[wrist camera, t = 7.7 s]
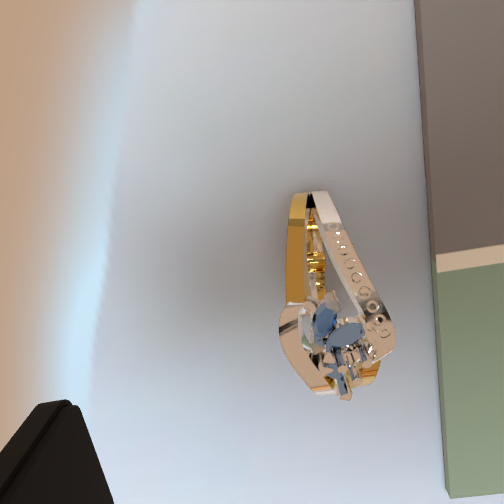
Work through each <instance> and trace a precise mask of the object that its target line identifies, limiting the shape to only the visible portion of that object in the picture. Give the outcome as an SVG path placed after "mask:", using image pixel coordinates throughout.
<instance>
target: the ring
mask: <svg viewBox="0 0 504 504" xmlns="http://www.w3.org/2000/svg"><path fill="white" fill-rule="evenodd" d="M322 240H323V243H324V245H325V248H326V250H327V252H328V255H329V257H330V259H331V261H332V263H333V265H334V268H335V270H336V272H337V274H338V276H339V278H340V280H341V281H342V283H343V285H344V287H345V289H346V291H347V293H348V294H349V296H350V298H351V300H352V302H353V303H354V305H355V307H356V309H357V310H358V312H359V314H357V317H345V318H342V319H340V320H339V319H338V318H337V312H338V311H340V307H339V303H338V299H337V296H336V293H335V291H334V290H332V291H330V292H328V293H326V286H325V277H324V271H325V254H324V252H323V247H322ZM305 314H310V318H311V326H312V330H310V344H309V342H308V340H307V338H306V336H305V334H304V331H303V327H302V320H303V317H304V315H305ZM363 334H364V335H365V337H366V338H367V339H368V340H367V339H363V337H362V336H363ZM279 335H280V341H281V345H282V348H283V350H284V353H285V355H286V357H287V358H288V360H289V362H290V363H291V365H292V366H293V368H294V369H295V370H296V372H297V373H298V374H299V376H300V377H301V378H302V379H303V380H304V382H305V383H306V384H307V385H308V386H309V388H310V389H311V390H312V391H313V392H314V393H315V394H316V395H318V396H319V395H329V394H337V392H338V396H339V399H342V400H348V401H349V400H350V399H351V396H352V391H351V388H355V387H362V386H367V385H369V384H371V383H372V382H373V380H374V379H375V377H376V375H377V372H378V369H379V366H380V362H381V359H382V358H384V357H386V356H388V355H389V354H390V353H391V352H392V351H393V349H394V347H395V340H396V339H395V331H394V327H393V324H392V321H391V319H390V316H389V314H388V312H387V310H386V308H385V306H384V304H383V303H382V301H381V299H380V297H379V295H378V293H377V292H376V290H375V288H374V286H373V284H372V283H371V281H370V279H369V277H368V275H367V273H366V271H365V269H364V267H363V265H362V263H361V261H360V259H359V257H358V255H357V253H356V251H355V249H354V247H353V245H352V243H351V241H350V239H349V237H348V235H347V232H346V230H345V228H344V226H343V224H342V222H341V219H340V217H339V215H338V213H337V211H336V208H335V206H334V204H333V202H332V200H331V197H330V196H329V194H328V192H327V191H310V196H309V192H304V193H295V194H294V196H293V198H292V202H291V207H290V213H289V221H288V233H287V250H286V306H285V308H284V309H283V311H282V314H281V317H280V321H279Z"/></svg>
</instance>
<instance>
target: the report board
mask: <svg viewBox="0 0 504 504" xmlns="http://www.w3.org/2000/svg"><path fill="white" fill-rule="evenodd" d="M414 2H415V17H416V33H417V48H418V64H419V79H420V95H421V110H422V126H423V142H424V157H425V173H426V188H427V204H428V219H429V235H430V250H431V266H432V281H433V297H434V313H435V328H436V344H437V359H438V375H439V390H440V406H441V421H442V437H443V452H444V468H445V484H446V490H447V493H448V495H449V497H450V499H453V498H463V497H472V496H482V495H491V494H501V493H504V0H414Z"/></svg>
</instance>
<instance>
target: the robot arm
mask: <svg viewBox="0 0 504 504" xmlns="http://www.w3.org/2000/svg"><path fill="white" fill-rule="evenodd" d="M0 504H114V502H113V498H112V495H111V493H110V490H109V487H108V484H107V482H106V479H105V476H104V473H103V470H102V468H101V465H100V462H99V459H98V457H97V454H96V451H95V448H94V446H93V443H92V440H91V437H90V435H89V432H88V429H87V426H86V424H85V421H84V418H83V415H82V412H81V410H80V408H79V407H78V406H76V405H72V403H71V402H70V401H69V400H66V399H65V400H59V401H52V402H46V403H41V404H38V405H37V406H36V407H35V408H34V409H33V411H32V412H31V413H30V415H29V416H28V417H27V419H26V420H25V421H24V422H23V424H22V425H21V426H20V428H19V429H18V430H17V431H16V433H15V434H14V436H13V437H12V438H11V439H10V441H9V442H8V443H7V445H6V446H5V447H4V448H3V450H2V451H1V452H0Z"/></svg>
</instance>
